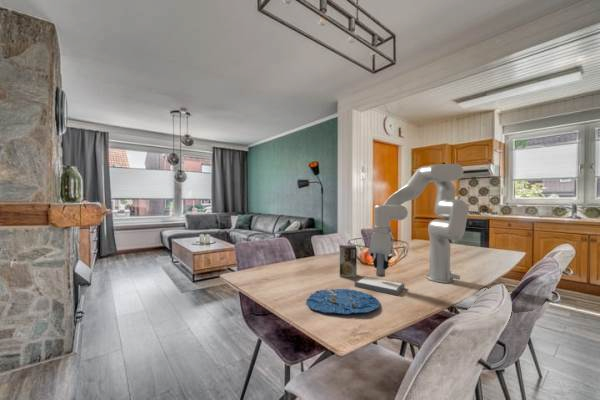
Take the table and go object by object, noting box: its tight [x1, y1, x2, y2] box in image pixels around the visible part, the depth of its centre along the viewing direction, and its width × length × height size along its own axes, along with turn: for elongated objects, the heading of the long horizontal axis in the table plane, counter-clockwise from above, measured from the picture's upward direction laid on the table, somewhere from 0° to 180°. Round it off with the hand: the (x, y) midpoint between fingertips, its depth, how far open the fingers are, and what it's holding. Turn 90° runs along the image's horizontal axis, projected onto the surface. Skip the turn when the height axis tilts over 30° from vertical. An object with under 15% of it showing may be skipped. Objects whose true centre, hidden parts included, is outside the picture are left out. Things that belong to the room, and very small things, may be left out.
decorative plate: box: [305, 288, 381, 316], centre depth 105 cm, size 30×30×5 cm
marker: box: [375, 253, 386, 278], centre depth 125 cm, size 4×4×14 cm
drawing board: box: [354, 275, 405, 296], centre depth 123 cm, size 20×12×2 cm, turn 55°
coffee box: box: [338, 244, 358, 278], centre depth 141 cm, size 9×6×16 cm
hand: (380, 267), depth 125 cm, fingers closed on marker, 4 cm apart
